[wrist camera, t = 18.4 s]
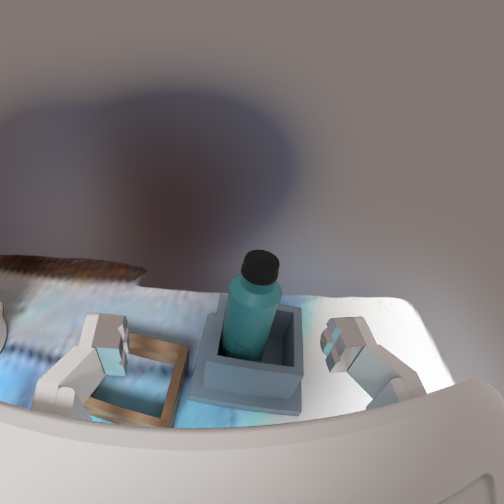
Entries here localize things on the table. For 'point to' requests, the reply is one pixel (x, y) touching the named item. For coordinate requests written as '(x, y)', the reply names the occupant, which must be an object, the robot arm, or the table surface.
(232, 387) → the bottle holder
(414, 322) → the table surface
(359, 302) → the table surface
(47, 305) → the table surface
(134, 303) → the table surface
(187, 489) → the robot arm
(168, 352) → the walnut sleeve
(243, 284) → the beverage bottle
